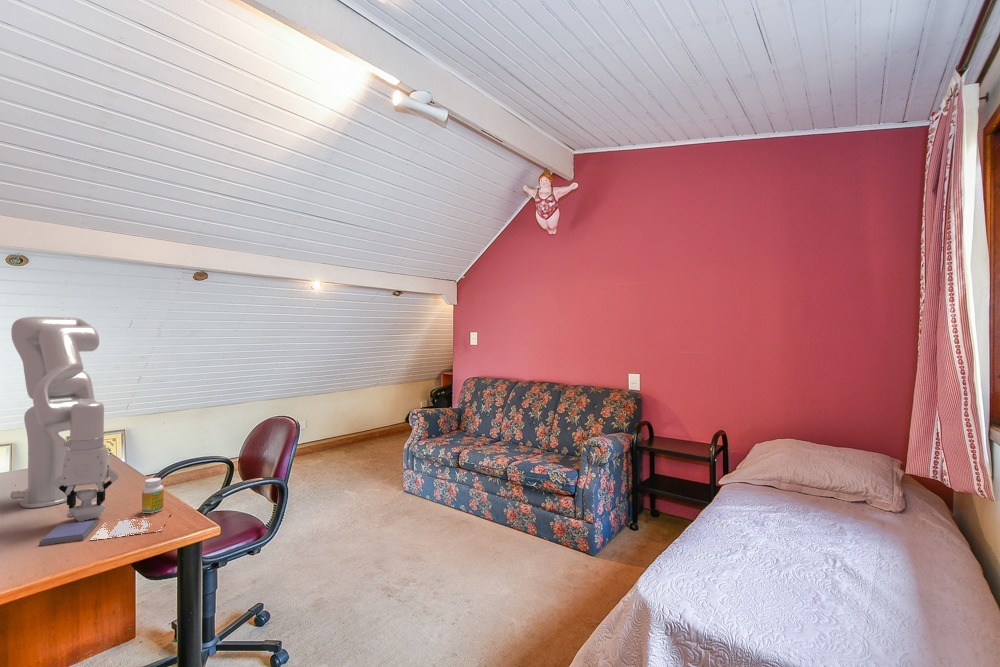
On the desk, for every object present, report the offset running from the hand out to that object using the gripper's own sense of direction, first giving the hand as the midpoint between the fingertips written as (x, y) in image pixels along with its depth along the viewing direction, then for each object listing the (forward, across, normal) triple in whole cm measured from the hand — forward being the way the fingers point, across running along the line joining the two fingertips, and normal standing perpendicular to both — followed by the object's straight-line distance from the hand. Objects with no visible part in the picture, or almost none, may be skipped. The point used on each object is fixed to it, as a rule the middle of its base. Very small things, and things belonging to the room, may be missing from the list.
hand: (86, 504), depth 141 cm
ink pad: (+4, 0, -12) cm, 13 cm away
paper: (+4, +14, -12) cm, 19 cm away
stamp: (+4, 0, 0) cm, 4 cm away
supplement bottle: (+4, +16, 0) cm, 17 cm away
